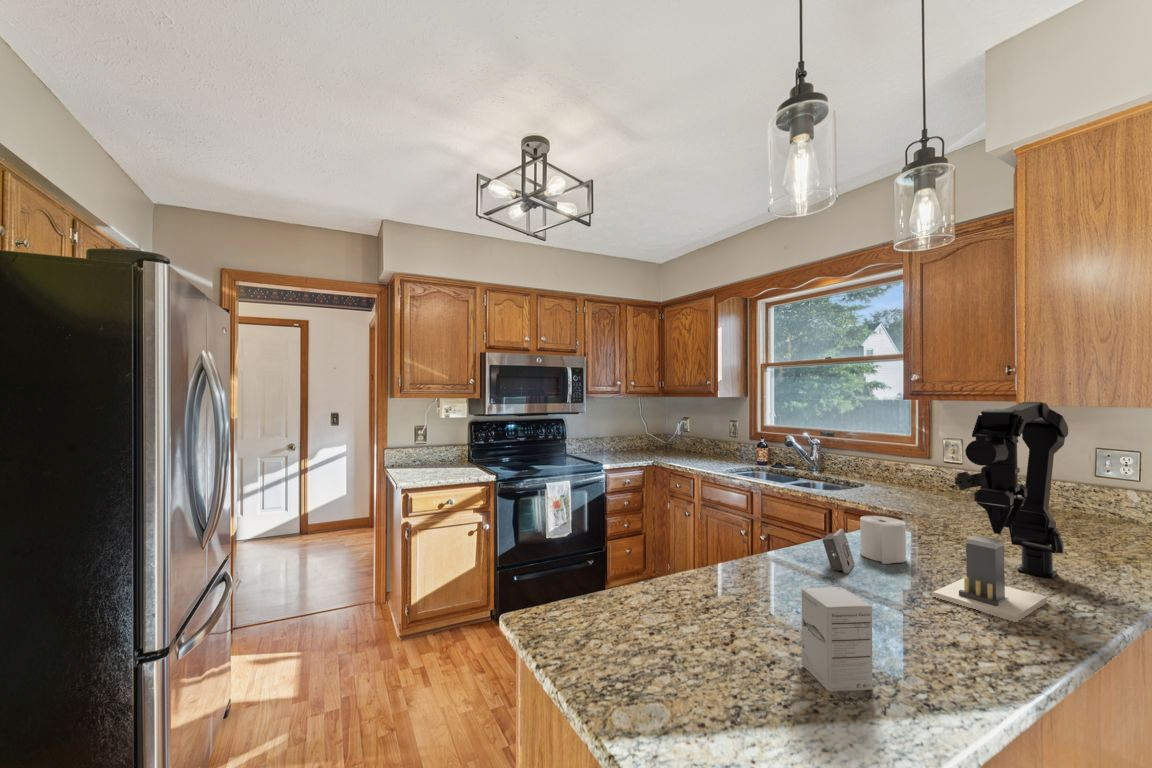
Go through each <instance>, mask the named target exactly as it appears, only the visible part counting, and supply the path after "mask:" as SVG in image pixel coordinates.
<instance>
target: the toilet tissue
mask: <svg viewBox="0 0 1152 768" xmlns="http://www.w3.org/2000/svg"><path fill="white" fill-rule="evenodd" d="M859 521H860V522H859V523H860V525H859V526H860V527H859V529H860V531H859V534H860V537H859V539H860V541H859V542H860V543H859V546H860V554H861V556H862V557H865V558H867V559H870V560H872V561H876V562H877V561H878V562H881V564H900V563H905V562H906V561H907V533H906V529H907V526H906V525H907V523H906V522H905V521H903V520H901V519H897V518H894V517H889V516H881V515H863V516H860V519H859Z"/></svg>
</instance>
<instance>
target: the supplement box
mask: <svg viewBox="0 0 1152 768" xmlns="http://www.w3.org/2000/svg"><path fill="white" fill-rule="evenodd" d="M801 666H802V667H803V668H804V669H805V670H807V671H808V672H809V673H810V674H811V675H812V676H813V678H815V679H816V681H818V683H820V685H822V686H823V687H824V688H825V690H826V691H828V692H829V693H830V692H850V691H851V692H852V691H853V692H854V691H868V690H869V691H870V690H873V606H872V605H871V604H869V602H866V601H864V600H863V599H861V598H860V597H857V595H854V594H853V593H851V592H850V591H849V590H847V589H845V588H843V587H841V586H840V587H839V586H838V587H837V586H834V587H832V586H831V587H807V588H801Z"/></svg>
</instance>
